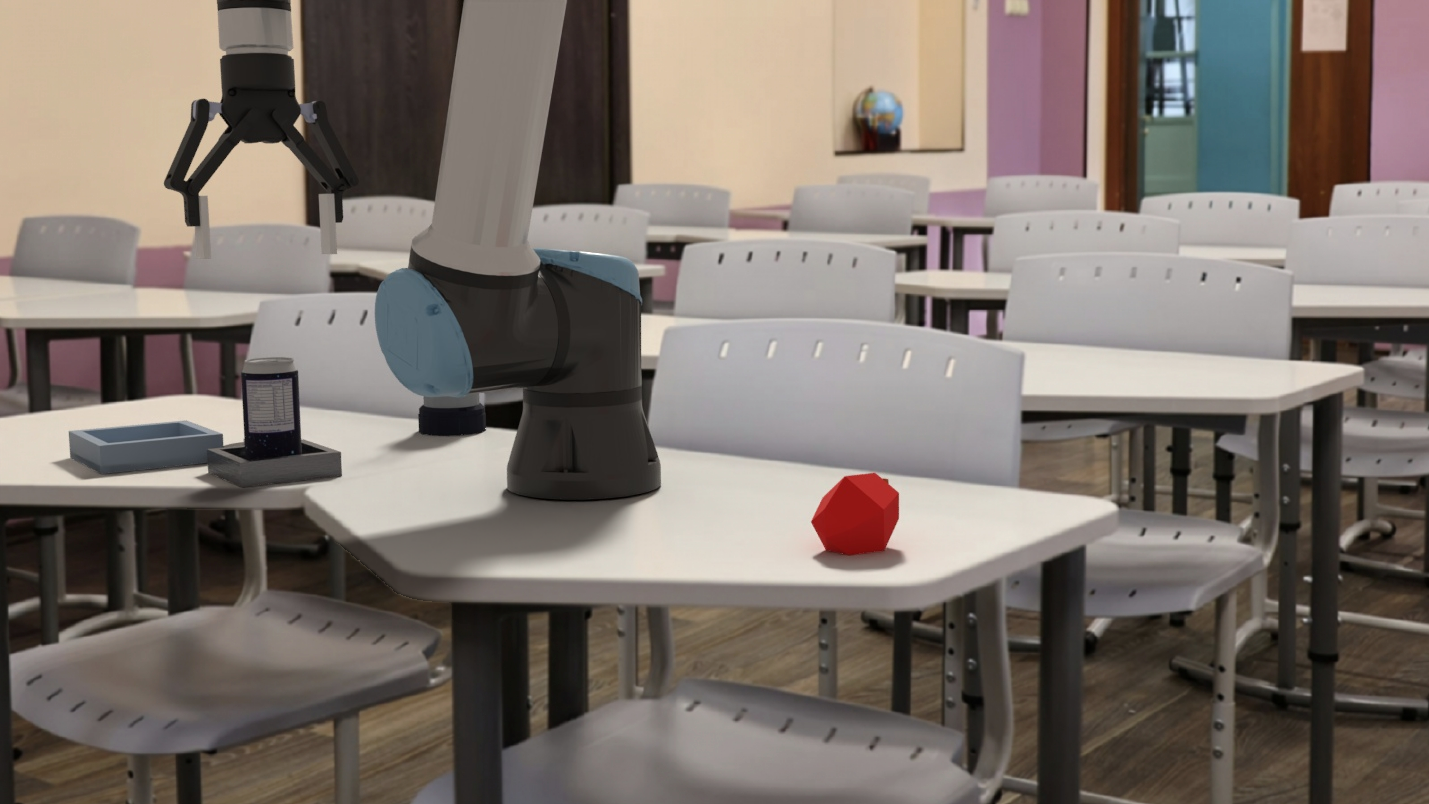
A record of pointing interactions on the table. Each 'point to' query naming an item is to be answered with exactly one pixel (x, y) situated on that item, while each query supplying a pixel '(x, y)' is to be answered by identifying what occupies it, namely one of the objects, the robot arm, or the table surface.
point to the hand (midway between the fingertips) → (268, 256)
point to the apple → (857, 515)
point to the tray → (143, 446)
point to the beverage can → (271, 408)
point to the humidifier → (452, 416)
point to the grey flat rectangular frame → (273, 465)
